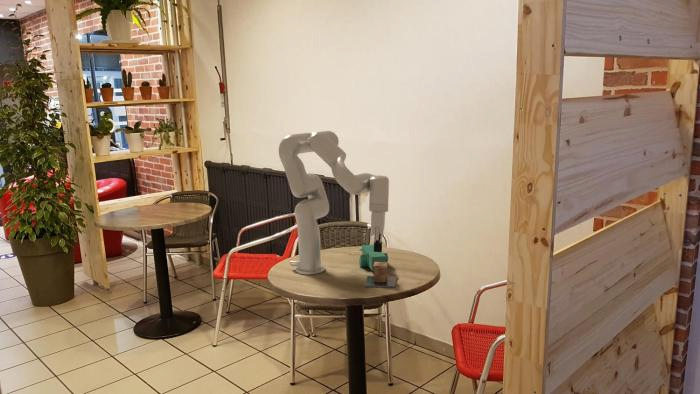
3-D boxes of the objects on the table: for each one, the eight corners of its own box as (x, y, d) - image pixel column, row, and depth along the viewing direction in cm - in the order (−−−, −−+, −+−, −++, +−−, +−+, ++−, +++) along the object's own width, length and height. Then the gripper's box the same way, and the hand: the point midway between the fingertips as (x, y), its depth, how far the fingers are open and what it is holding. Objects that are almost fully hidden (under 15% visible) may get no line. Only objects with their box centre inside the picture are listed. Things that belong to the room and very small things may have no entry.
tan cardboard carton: (373, 282, 210) (373, 265, 209) (374, 277, 215) (374, 261, 214) (386, 282, 209) (386, 265, 208) (387, 278, 214) (387, 262, 213)
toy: (378, 235, 250) (392, 252, 221) (378, 255, 252) (392, 274, 222) (353, 237, 248) (364, 254, 219) (353, 256, 250) (365, 276, 221)
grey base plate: (364, 287, 207) (364, 270, 206) (367, 277, 219) (367, 261, 218) (394, 287, 206) (394, 270, 204) (396, 277, 217) (395, 261, 216)
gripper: (371, 202, 215) (370, 245, 218) (367, 210, 200) (366, 256, 204) (389, 203, 214) (388, 246, 217) (387, 211, 199) (385, 257, 203)
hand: (377, 251), depth 211 cm, fingers closed
